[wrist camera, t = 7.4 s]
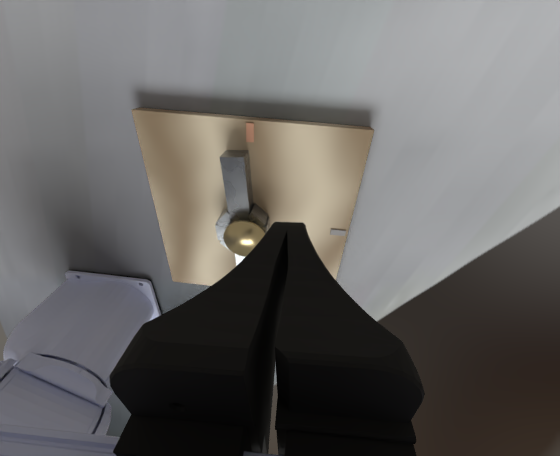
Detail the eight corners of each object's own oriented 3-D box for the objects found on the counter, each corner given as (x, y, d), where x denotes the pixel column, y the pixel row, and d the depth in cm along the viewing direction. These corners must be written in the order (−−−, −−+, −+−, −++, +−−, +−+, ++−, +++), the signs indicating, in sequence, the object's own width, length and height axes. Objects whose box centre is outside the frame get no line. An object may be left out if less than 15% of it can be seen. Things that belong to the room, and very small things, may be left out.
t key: (272, 277, 24) (270, 289, 23) (231, 274, 24) (227, 287, 23) (265, 150, 17) (262, 157, 16) (209, 149, 18) (201, 157, 16)
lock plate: (177, 274, 26) (161, 299, 24) (139, 107, 18) (107, 116, 15) (329, 291, 26) (332, 320, 23) (370, 127, 17) (383, 139, 14)
